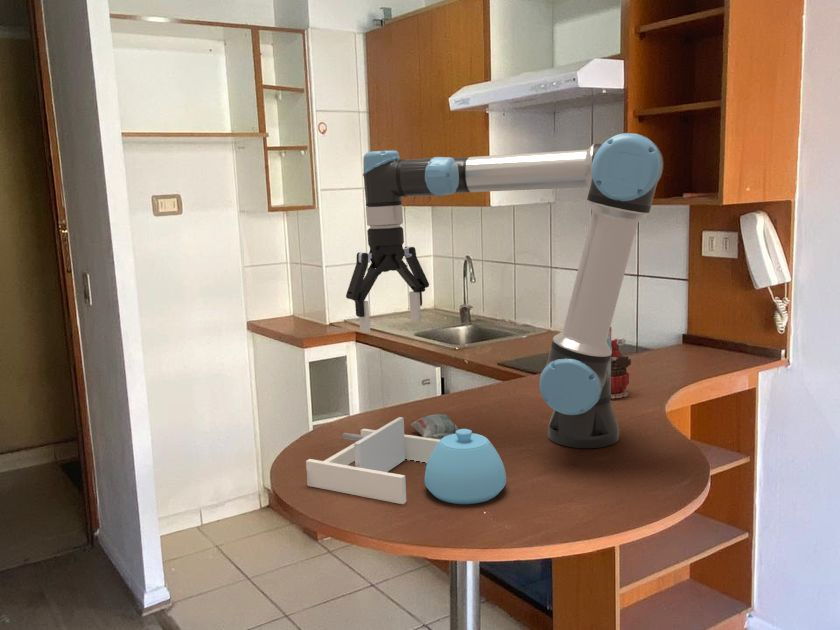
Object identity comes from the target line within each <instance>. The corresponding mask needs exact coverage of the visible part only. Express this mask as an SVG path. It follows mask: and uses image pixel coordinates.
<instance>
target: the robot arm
mask: <svg viewBox="0 0 840 630" xmlns="http://www.w3.org/2000/svg"><path fill="white" fill-rule="evenodd" d="M362 163H363V169H362V171H363V173H362V177H363V184H364V187H363V188H364V195H365V197H364V198H365V211H366V212H365V213H366V216H365V217H366V225H367V226H368V227H369V228H368V229H367V244H368V247H369V252H368V253H367V252H361V251H360V252H357V254H356V264H355V267H354V269H353V272H352V276H351V279H350V282H349V285H348V289H347V292H346V294H345V298H346V300H347V299H348V300H352V301H354V305H355V306H354V309H355V315H356V317H358V322H359V323H358V324H359V332H362V333H367V334H368V333H371V323H370V307H369V305H370V304H369V301H368V300H366V298H368V295H369V293H370V291H371V290H372V287H373V286H374V285H375V282H376V281H377V279H378V277H379V276H380V275H381V274H382V273H387V272H389V271H396V272H397V273H398V274H399V276H400V277H401V278H402V279H403V280H404V282H405V283H406V285H408V286H409V288H410V289H411V291H408V296H409V297H408V298H409V299H408V300H409V312H410V313H409V314H410V316H409V317H410V322H415V323H421V322H422V315H421V314H422V313H421V311H422V310H421V307H422V306H423V293H424V292H425V291H426V289H427V288H429V286H430V282H429V281H428V278H427V276H426V273H425V272H424V269H423V268H422V266H421V262H420V261H419V260H418V256H417V252H416V248H415V246H405V247H403V244H404V243H405V236H404V234H405V233H404V228H403V226H401V225H403V223H404V215H403V203H402V201H403V200H402V198H403V197H404V198H405V197H428V196H429V197H432V196H435V197H441V196H446V195H453V194H464V193H465V194H466V193H484V192H486V193H488V192H506V191H507V192H508V191H509V192H510V191H529V190H532V191H533V190H535V191H537V190H557V189H578V188H581V189H582V188H587V189H588V188H589V190H588V194H587V199H586V202H587V204H588V206H589V207H590V210H591V216H590V220H589V224H588V229H587V231H586V232H587V233H586V236H585V239H584V240H585V241H584V244H583V249H582V253H581V257H580V262H579V264H578V269H577V271H576V272H577V273H576V277H575V281H574V285H573V287H572V288H573V289H572V292H571V296H570V297H571V298H570V301H569V304H568V305H569V306H568V309H567V314H566V317H565V321H564V325H563V328H562V331H560V332H558V333H557V334H556V335H554V336H553V337H552V341H551V344H550V349H549V352H548V357H547V362H546V365H545V366H544V367H543V369H542V371H541V373H540V375H539V376H540V377H539V382H538V383H539V391H540V394H541V395H540V396H541V397H542V398H543V400H544V402H545V403H546V404H547V405H548V406H549V408H551V409H552V413H551V416H550V420H549V422H548V426H547V438H548V440H550V441H551V442H552V443H555V444H557V445H561V446H564V447H568V448H569V447H570V448H575V449H601V448H606V447H609V446H612V445H614V444H616V443H617V442H618V441H619V439H620V428H619V424H618V421H617V418H616V415H615V412H614V409H613V406H612V402H611V401H612V400H611V399H612V398H611V354H612V347H611V341H612V338H611V339H610V337H609V336H608V334H609V330H610V327H612V323H613V320H614V319H613V317H614V315H615V311H616V307H617V304H618V299H619V295H620V292H621V288H622V284H623V280H624V277H625V273H626V269H627V265H628V262H629V258H630V254H631V249H632V246H633V242H634V239H635V235H636V232H637V231H636V230H637V227H638V223H639V222H640V221H641V220H642V219H644V218H645V217H647V216H649V214H650V211H651V208H652V204H653V200H654V197H655V193H656V188H657V185H658V183H659V181H660V179H661V178H662V176H663V171H664V157H663V154H662V152H661V150H660V147H658V145H657V144H656V143H655V142H654V141H652V140H651V139H650V138H648V137H647V136H644V135H641V134H638V133H637V132H636V133H633V132H632V133H629V132H624V133H620V134H615V135H614V136H612V137H610V138H608V139H607V140H605V142H603V143H593V144H592V145H591V146H590V147H589V148H587V149H578V150H577V149H576V150H561V151H546V152H545V151H543V152H528V153H526V152H525V153H516V154H515V153H512V154H497V155H483V156H482V155H480V156H469V157H468V156H467V157H466V156H465V157H464V156H463V157H450V156H447V157H446V156H445V157H444V156H434V157H423V158H414V159H413V158H412V159H401V157H400V153H399V151H397V150H375V151H368V152H366V153H365V154H364V155H363V162H362ZM404 258H405V261H406V262H407V263H405V261H404V260H403V259H404ZM370 262H371V263H370ZM369 263H370V265H369ZM368 266H369V267H368ZM408 267H409V268H408Z"/></svg>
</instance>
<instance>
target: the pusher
mask: <svg viewBox="0 0 840 630" xmlns="http://www.w3.org/2000/svg"><path fill="white" fill-rule="evenodd" d="M404 421H405V420H404V417H403V416H402V417H401V416H399V417H397V418H395V419H393V420H392V421H390V422H388V423H387V424H385V425H383V426H381V427H380V428H378V429H375V430H376V431H374V432H373V433H371V434H369V435H368V436H364V435H361V434H357V433H356V434H355V433H350V432H343V433H342V436H341V437H342V439H343V440H351V441H355V442H356V443H355V442H354V443H353V444H354V451H355V461H354V462H355V463H354V465H355V466H354V467H359V468H365V469H371V470H377V471H382V472H388V473H389V471H391V470H392V469H394V468H395V467H397V466H398V465H400V464H401V463H403V462H404V461H406V460H405V439H404V434H405V422H404Z"/></svg>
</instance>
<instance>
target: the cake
mask: <svg viewBox="0 0 840 630" xmlns="http://www.w3.org/2000/svg"><path fill="white" fill-rule="evenodd" d="M608 336H609V337H610V339H611V347H612V354H611V399H613V400H614V399H618V398H620V399H621V398H622V397H623V398H626V397H627V396H628V395H629V393H630V392H629V390H628V389H627V387H628V385H629V384H630V374H629V372H628V371H627V368H628V367H629V366H630V365H632V359H630V358H629V355H628V356H627V355H622V353H621V351H620V349H619V347H620V346H623V345H625V344H626V342H627V340H626V339H625V337H619V338H615V339H612V326H610V330H609V334H608Z"/></svg>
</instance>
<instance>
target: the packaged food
mask: <svg viewBox="0 0 840 630" xmlns="http://www.w3.org/2000/svg"><path fill="white" fill-rule="evenodd" d="M410 426H411V427H412V428H414V429H415V431H417V432H418V433H419V434H420V435H421V437H426V438H433V439H440V440H441V439H442V438H443V437H445V436H448V435H451V434H456V431H457V430H459V427H458V426H457V424H456V423H454V422H453V421H452V420H451V418H450V417H449V415H447V414H441V413H436V414H430V415H429V414H428V415H426V416H423V417H419V419H417V420H415V421H413V422H412V423H410Z"/></svg>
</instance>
